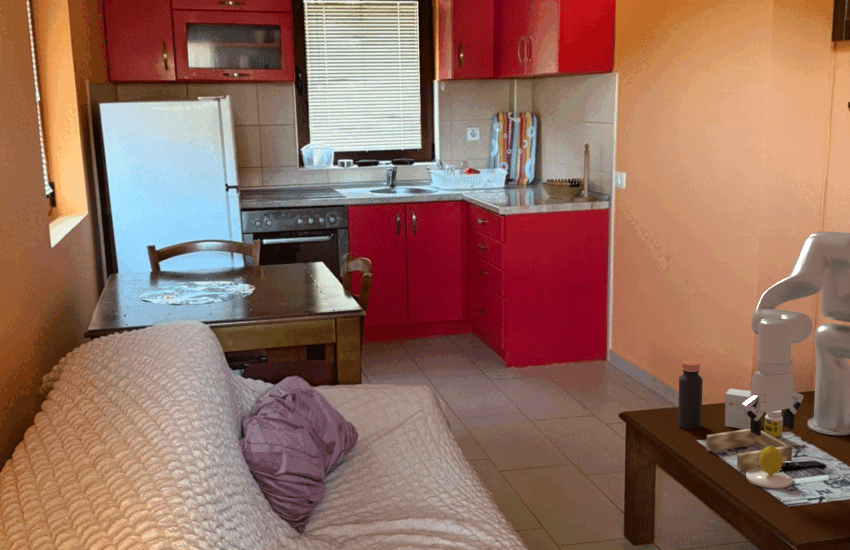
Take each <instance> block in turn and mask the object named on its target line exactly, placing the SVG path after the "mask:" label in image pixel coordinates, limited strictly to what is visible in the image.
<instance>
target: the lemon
mask: <svg viewBox="0 0 850 550" xmlns="http://www.w3.org/2000/svg"><path fill="white" fill-rule="evenodd" d="M761 450H762V451H761V453H760V457H759V464H760V467H761V468H762V470H763V471H764V472H766V473H768V474H769V475H772V474H775V473H777V472H779V471H780V470H782V467H783V464H782V463H783V460H782V455H781V453H780V451H779V450H778V449H777V448H775V447H773V446H769V447H766V448H764V449H761Z"/></svg>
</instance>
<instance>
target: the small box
mask: <svg viewBox="0 0 850 550" xmlns="http://www.w3.org/2000/svg"><path fill="white" fill-rule="evenodd" d="M750 394H751V390H747V389H746V390H745V389H744V390H743V389H736V388H729V389H728V390H727V391H726V393H725V400H724V401H725V402H724V426H725V427H727V428H734V429H739V430H743V429H750V423H751V418H750V417H748V415H747V414H746V413H745V411H744V409H743V407H742V404H743V403H744V402H746V401H747V400H748V399H750ZM750 409H751V410H752V409H753V407H750ZM756 414H757V413H756ZM756 414H755V415H756Z"/></svg>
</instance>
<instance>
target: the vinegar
mask: <svg viewBox="0 0 850 550" xmlns="http://www.w3.org/2000/svg"><path fill="white" fill-rule="evenodd" d="M700 363H701V362H699V361H696V360H684V361H682V365H681V366H682V367H681V368H682V372H683V373H682V374H681V375H680V376H678V377H679V378H678V410H677V411H678V413H677V415H678V417H677V418H678V419H677V420H678V421H677V423H678V424H677V425H678V426H679V427H680V428H681V429H684V430H698V429H700V428H702V421H703V420H702V416H703V415H702V414H703V383H704V382H703V380H704V379H703V378H702V377H701V376H700V374H699V373H700V367H701V366H700Z"/></svg>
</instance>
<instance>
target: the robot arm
mask: <svg viewBox="0 0 850 550" xmlns="http://www.w3.org/2000/svg"><path fill="white" fill-rule="evenodd" d="M819 292H821V294H820V298H821V299H820V309H821V314H822V316H823V317H825V318H826V319H829V320H832V321H839V322H845V323H850V232H841V231H828V230H827V231H826V230H825V231H815V232H812V233H811V234H809V236H808V237H807V238H806V239H805V240H804V241H803V243H802V245H801V246H800V250H799V252H798V253H797V257H796V259H795V261H794V263H793V265H792V268H791V269H790V273H789V275H788V276H787V277H785V278H782V279H781V280H779V281H778V282H775V283H774V284H773V285H772V286H770V287H769V288H768V289H766V290H765V291H764V292H763V293H762V294H761V296H760V297H759V299H758V302H757V304H756V306H755V308H754V311H753V312H752V313H753V314H752V316H751V321H750V322H751V323H750V325H751V330H752V331H753V333H754V334H755V335H757V337H758V339H757V344H758V345H757V349H758V350H757V370H756V371H754V373H753V376H752V381H751V387H750V391H751V394H750V399H748V400H747V401H746V402H744V403H743V404H742V407H743V409H744V411H745V413H746V414H747V415H748V417H750V418H751V423H750V429H751V432H752V433H754V434H756V435H758V436H759V435H761V431H762V421H761V420H760V419H761V417H762V416H763V415H764V414H767V412H773V411H779V410H782V411H783V413H782V414H783V416H782V418H783V425H782V426H784V427H785V428H788V429H789V430H794V429H795V427H794V426H795V415H797V413H798V411H797V410H798V409H799V408H800V407H801V404H802V401H803V399H804V397H805V396H804V394H802V393H799V392H797V391H795V382H794V377H793V376H794V375H793V372H792V370H791V365H793V364H794V360H793V359H791V353H792V348H791V347H792V344H797V343H801V342H804V341H806V340H807V339H808V338H809V337H810V336H811V334H812V332H813V329H814V327H813V326H814V325H813V320H812V319H811V318H810V316H809V315H807V314H806V313H803V312H798V311H789V310H785V309H776V308H777V307H778V306H780V305H782V304H785V303H787V302H790V301H795V300H799V299H802V298H806V297H807V298H808V297H810V296H813V295H815V294H818V293H819ZM813 345H814V351H815V367H816V368H815V384H814V385H815V387H814V405H813V406H814V407H813V417H812V418H809V419H808V420H807V427H808V428H809V429H810V430H812V431H814V432H817V433H820V434H824V435H828V436H829V435H830V436H846V435H847V436H848V435H850V364H849V362H848V360H850V325H849V324H841V323H832V322H829V323H828V322H827V323H823V324H820V325H819V326H817V327H816V329H815V331H814V336H813ZM750 407H753V409H752V410H751V409H750ZM755 414H756V415H755Z"/></svg>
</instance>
